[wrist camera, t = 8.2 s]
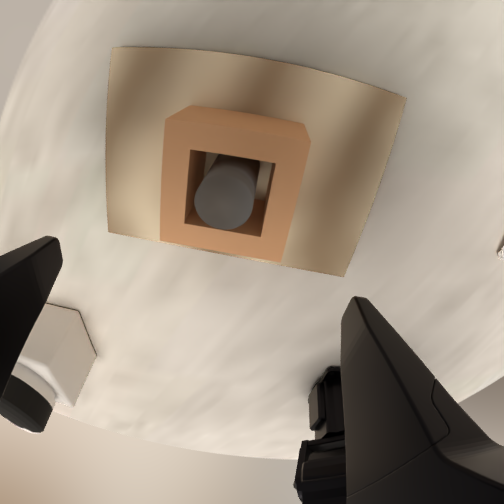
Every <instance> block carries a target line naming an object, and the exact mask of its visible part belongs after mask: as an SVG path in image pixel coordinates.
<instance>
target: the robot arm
mask: <svg viewBox="0 0 504 504" xmlns="http://www.w3.org/2000/svg"><path fill="white" fill-rule="evenodd" d="M62 263H63V258H62V253H61V248H60V242H59V240H58V238H56V237H52V236H45V237H42V238H40V239H38V240H35V241H33V242H31V243H28V244H26V245H24V246H21V247H19V248H17V249H15V250H13V251H10V252H8V253H6V254H4V255H2V256H0V401H1V398H2V396H3V393H4V391H5V388H6V386H7V383H8V381H9V378H10V376H11V374H12V371H13V369H14V367H15V364H16V362H17V360H18V358H19V356H20V353H21V351H22V349H23V347H24V345H25V343H26V341H27V339H28V337H29V335H30V332H31V330H32V328H33V327H34V325H35V323H36V321H37V319H38V317H39V315H40V313H41V311H42V309H43V307H44V305H45V303H46V301H47V299H48V296H49V294H50V292H51V289H52V287H53V285H54V282H55V280H56V278H57V276H58V274H59V271H60V269H61V267H62ZM308 403H309V418H310V429H311V430H312V431H315V440H310V441H308V440H304V441H302V444H301V448H300V451H299V458H298V464H297V469H296V475H295V481H294V488H295V489H296V490H297V493H298V497H299V499H300V500H301V502H302V504H504V446H501V445H499V444H497V443H496V442H494V441H493V440H491V439H490V438H489V437H488V436H487V435H486V434H485V433H484V432H483V430H482V429H481V428H480V427H479V426H478V425H477V424H476V423H475V422H474V421H473V420H472V419H471V418H470V416H468V414H467V413H466V412H465V411H464V410H463V409H462V408H461V407H460V406H459V405H458V403H457V402H456V401H455V400H454V399H453V398H452V397H451V396H450V394H449V393H448V392H447V391H446V390H445V388H444V387H443V386H442V385H441V384H440V382H439V381H438V380H437V379H435V376H434V375H433V374H432V373H431V372H430V370H429V369H428V368H427V367H426V366H425V364H424V363H423V362H422V361H421V360H420V359H419V357H418V356H417V355H416V354H415V353H414V351H413V350H412V349H411V348H410V347H409V346H408V344H407V343H406V342H405V341H404V340H403V339H402V338H401V336H400V335H399V334H398V333H397V332H396V331H395V329H394V328H393V327H392V326H391V325H390V324H389V323H388V322H387V320H386V319H385V318H384V317H383V316H382V315H381V314H380V312H379V311H378V310H377V309H376V308H375V307H374V306H373V305H372V304H371V302H370V301H369V300H368V299H367V298H364V297H357V296H354V297H352V299H351V300H350V302H349V304H348V306H347V308H346V310H345V312H344V314H343V317H342V321H341V368H334V367H331V368H328V369H327V370H326V371H325V373H324V375H323V376H322V378H321V380H320V381H319V382H318V383H317V384H316V385H315V387H314V389H313V390H312V392H311V393H310V395H309V399H308Z"/></svg>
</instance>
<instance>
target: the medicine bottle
mask: <svg viewBox="0 0 504 504" xmlns="http://www.w3.org/2000/svg"><path fill="white" fill-rule="evenodd" d="M95 359H96V354H95V352H94V349H93V347H92V345H91V342H90V340H89V337H88V335H87V332H86V330H85V327H84V325H83V322H82V319H81V317H80V314H79V312H78V311H75V310H71V309H67V308H62V307H58V306H54V305H50V304H46V303H45V305H44V307H43V309H42V311H41V313H40V315H39V317H38V319H37V321H36V323H35V325H34V327H33V328H32V330H31V332H30V335H29V337H28V339H27V341H26V343H25V345H24V347H23V349H22V351H21V353H20V356H19V358H18V360H17V362H16V364H15V367H14V369H13V371H12V374H11V376H10V378H9V381H8V383H7V386H6V388H5V391H4V393H3V396H2V398H1V401H0V414H1V415H2V416H3V417H4V418H6V419H7V420H8V421H10V422H11V423H12V424H14V425H15V426H17V427H19V428H20V429H22V430H25V431H27V432H29V433H36V434H39V433H42V432H43V431H44V428H45V426H46V424H47V421H48V419H49V417H50V415H51V412H52V410H53V408H54V406H55V402H57V403H60V404H63V405H65V406H68V407H71V408H72V407H74V406H75V403H76V401H77V399H78V396H79V394H80V392H81V389H82V387H83V385H84V383H85V381H86V378H87V376H88V374H89V372H90V370H91V368H92V365H93V363H94V361H95Z"/></svg>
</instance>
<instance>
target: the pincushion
mask: <svg viewBox="0 0 504 504" xmlns="http://www.w3.org/2000/svg"><path fill="white" fill-rule="evenodd" d="M498 256H499V260H503V261H504V246H503V247H502V250H501V251H500V252H498Z"/></svg>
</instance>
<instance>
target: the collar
mask: <svg viewBox="0 0 504 504" xmlns="http://www.w3.org/2000/svg"><path fill="white" fill-rule="evenodd" d="M310 145H311V140H310V138H309V135H308V133H307V130H306V128H305V125H304V124H303V123H298V122H293V121H288V120H283V119H278V118H273V117H268V116H262V115H256V114H250V113H244V112H238V111H231V110H224V109H217V108H209V107H201V106H192V105H190V106H188V107H186V108H184V109H182V110H180V111H179V112H177V113H175V114H173V115H171V116H170V117H168V118H166V119H165V128H164V141H163V156H162V174H161V199H160V241H164V242H170V243H175V244H181V245H186V246H192V247H197V248H203V249H208V250H214V251H219V252H225V253H230V254H236V255H241V256H247V257H252V258H258V259H264V260H269V261H275V262H280V263H281V260H282V256H283V253H284V249H285V245H286V241H287V237H288V233H289V230H290V226H291V222H292V218H293V214H294V210H295V206H296V202H297V198H298V194H299V190H300V186H301V182H302V178H303V174H304V170H305V166H306V162H307V158H308V154H309V149H310ZM206 152H212V153H218V154H225V155H231V156H237V157H243V158H249V159H254V160H260V161H265V162H271V163H272V167H271V172H270V176H269V181H268V186H267V191H266V196H265V201H263V200H258V199H254V203H253V209H252V213H251V215H250V217H249V218H248V220H247V221H246V222H245V223H244V224H242V225H241V226H239V227H237V228H234V229H228V230H223V229H217V228H214V227H212V226H210V225H208V224H206V223H205V222H204V221H203V220H202V219H201V218H200V217H199V215H198V213H197V211H196V209H195V203H194V199H195V194H196V191H197V189H198V188H199V186H200V184H201V183H202V181H203V179H204V170H205V161H206Z"/></svg>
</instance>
